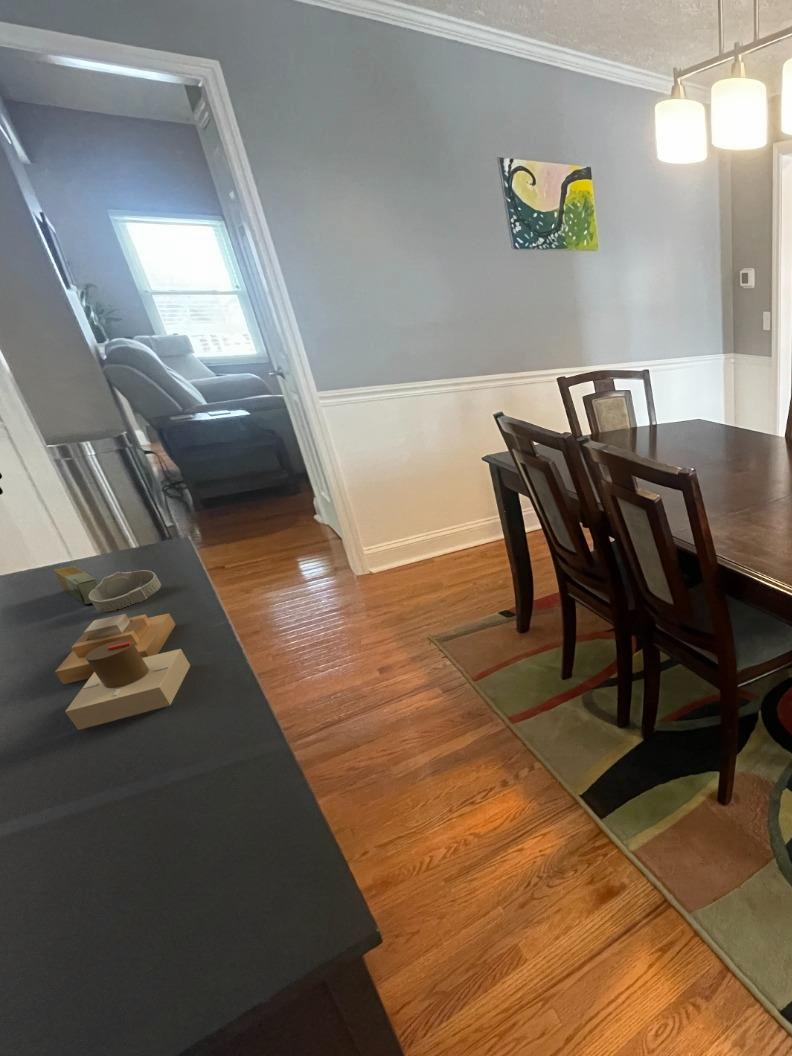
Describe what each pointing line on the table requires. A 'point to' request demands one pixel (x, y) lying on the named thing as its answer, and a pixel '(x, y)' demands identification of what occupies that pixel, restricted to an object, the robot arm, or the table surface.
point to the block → (141, 632)
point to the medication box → (76, 583)
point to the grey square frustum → (107, 627)
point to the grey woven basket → (123, 590)
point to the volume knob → (117, 663)
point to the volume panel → (130, 692)
